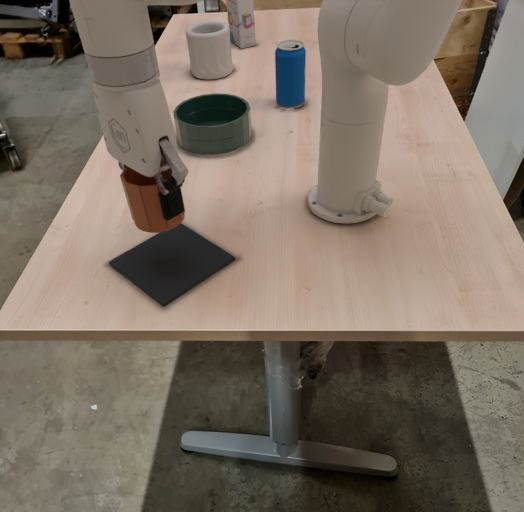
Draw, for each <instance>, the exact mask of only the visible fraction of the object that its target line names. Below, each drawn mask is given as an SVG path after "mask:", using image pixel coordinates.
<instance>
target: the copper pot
mask: <svg viewBox="0 0 524 512" xmlns="http://www.w3.org/2000/svg"><path fill="white" fill-rule="evenodd" d="M165 164H166V163H165V161H164V160H162V161H161V162H160V167H161V166H163V165H165ZM161 175H162V177H163V179H164V181H165V182H166V181H167V180H168V178H170V177H171V176H170V174H169V172H168V170H166V171H164V172H162V173H161ZM119 178H120V181H121V185H122V188H123V193H124V195H125V198H126V202H127V205H128V209H129V213H130V216H131V219H132V221H133V223H134V225H135V227H136V228H137V229H138V230H140V231H142V232H145V233H151V234H158V233H160V232H165V231H168V230H171V229H173V228H175V227H177V226H178V225H179V224H181V223H182V224H183V222H184V219H185V216H186V214H185V213H186V208H185V207H184V209H185V210H184V212H183V213H181V214H179V215H177V216H176V217H174V218H172V219H170V220H168V221H167V220H165V219H164V218H163V213H162V209H161V205H160V200H159V196H158V193H160V192H161V191H160V189H159V187H158V185H157V183H156V181H155V179H154V177H147V176H144V175H142V174H140V173H138V172H137V171H135V170H133V169H131V168H130V167H128V166H126V167H125V168H124V170H122V171H121V173H120V175H119ZM180 188H181V189H182V187H180ZM181 193H182V191H181ZM182 194H183V193H182ZM182 198H183V196H182ZM183 199H184V198H183ZM183 203H184V201H183ZM184 204H185V203H184Z"/></svg>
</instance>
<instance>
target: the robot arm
mask: <svg viewBox="0 0 524 512" xmlns="http://www.w3.org/2000/svg"><path fill="white" fill-rule="evenodd" d="M68 1H69V5H70V7H71V11H72V15H73V18H74V21H75V25H76V28H77V32H78V35H79V38H80V41H81V45H82V49H83V52H84V56H85V60H86V63H87V67H88V70H89V73H90V77H91V82H92V89H93V97H94V102H95V107H96V111H97V115H98V119H99V124H100V128H101V132H102V136H103V139H104V144H105V146H106V150H107V152H108V154H109V155H110V156H111V157H112V158H113V159H115V160H116V161H117V164H118V167H119V169H120V170H121V171H123V170H124V168H125V167H126V166H128V167H130V168H131V169H133V170H135V171H137V172H138V173H140V174H142V175H144V176H147V177H154V179H155V181H156V183H157V185H158V187H159V189H160V191H161V192H160V193H158V196H159V200H160V205H161V209H162V213H163V218H164V219H165V220H167V221H168V220H170V219H172V218H174V217H176V216H177V215H179V214H181V213H183V212H184V210H185V211H186V208H185V203H183V202H184V198H182V197H183V193H181V192H182V187H183V184H184V183H185V179H186V177H187V176H188V174H189V169H188V167H187V166H186V165H185V164H186V163H184V161H183V160H182V158H180V156H179V150H178V142H177V138H176V131H175V128H174V125H173V124H174V123H173V120H172V116H171V111H170V108H169V104H168V101H167V97H166V95H165V92H164V88H163V86H162V82H161V80H160V77H161V73H160V68H159V62H158V58H157V52H156V46H155V42H154V35H153V31H152V30H153V29H152V25H151V19H150V14H149V9H148V6H190V5H194V4H197V3H200V2H202V1H203V0H68ZM462 2H463V0H322V2H321V5H320V8H319V11H318V12H319V13H318V17H317V40H318V41H317V42H318V51H319V59H320V69H321V100H320V101H321V104H320V120H319V122H320V123H319V142H318V143H319V144H318V166H317V167H318V168H317V184H315V185H314V186H313V187H312V188H311V189H310V191H309V192H308V195H307V204H308V205H307V206H308V208H309V210H310V211H311V212H312V213H313V214H314V215H315V216H317V217H319V218H320V219H322V220H325V221H327V222H330V223H336V224H356V223H362V222H364V221H368V220H369V219H372V218H373V217H375V216H380V217H382V218H387V217H388V216H390V213H391V211H392V207H391V205H392V204H393V202H394V201H393V200H394V199H393V197H390V196H388V195H384V194H382V192H381V188H382V181H380V180H377V175H378V168H379V164H380V163H379V162H380V154H381V147H382V141H383V135H384V127H385V121H386V120H385V119H386V113H387V109H388V103H389V102H388V101H389V85H390V86H396V87H397V86H398V87H399V86H400V87H401V86H406V85H409V84H411V83H412V82H414V81H416V80H417V79H418V78H420V76H421V75H422V74H423V73H425V71H426V70H427V69H428V68H429V67H430V65H431V64H432V62H433V60H434V59H435V57H436V55H437V54H438V52H439V50H440V49H441V47H442V44H443V42H444V41H445V38H446V36H447V35H448V32H449V30H450V28H451V26H452V23H453V21H454V19H455V17H456V15H457V13H458V11H459V8H460V6H461V4H462ZM162 160H164V161H165V163H166V164H165V165H163V166H161V167H160V162H161V161H162ZM166 170H168V172H169V174H170V176H171V177H170V178H168V180H167V181H166V182H165V181H164V179H163V177H162V175H161V173H162V172H164V171H166ZM180 187H181V188H180ZM184 208H185V209H184Z"/></svg>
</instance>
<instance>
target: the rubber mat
mask: <svg viewBox="0 0 524 512" xmlns="http://www.w3.org/2000/svg"><path fill="white" fill-rule="evenodd" d="M234 261H236V257H235V255H233V254H231V253H230V252H228V251H227V250H225V249H223V248H222V247H219V245H217V244H216V243H214V242H212V241H210V240H209V239H207V238H206V237H204V236H203V235H201V234H199V233H198V232H196V231H194V230H193V229H192V228H190V227H188V226H186V225H185V224H183V222H182V223H181V224H179V225H178V226H177V227H175V228H173V229H171V230H168V231H165V232H160V233H155V234H154V235H153V236H151V237H149V238H147V239H146V240H144V241H142V242H140V243H138V244H137V245H136V246H134V247H132V248H130V249H128V250H126V251H125V252H123V253H121V254H119V255H118V256H116V257H114V258H113V259H111V260H109V261H108V264H109V266H111V267H112V268H114V269H115V270H116V271H117V272H119V274H121V275H122V276H123V277H125V278H126V279H127V280H128V281H130V282H131V283H132V284H134V285H135V286H136V287H137V288H139V289H140V290H141V291H142V292H144V293H145V294H146V295H147V296H149V297H150V298H151V299H153V300H154V301H156V302H157V303H158V304H159V305H161V306H162V307H163V308H164V307H167V305H169V304H170V303H172V302H174V301H176V299H178V298H179V297H181V296H183V295H184V294H186V293H187V292H189V291H190V290H192V289H194V288H195V287H196V286H198V285H199V284H200V283H203V282H204V281H205V280H207V279H209V278H210V277H211V276H213V275H215V274H216V273H217V272H220V270H222V269H223V268H226V267H227V266H228V265H230V264H231V263H233V262H234Z"/></svg>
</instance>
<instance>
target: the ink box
mask: <svg viewBox="0 0 524 512" xmlns="http://www.w3.org/2000/svg"><path fill="white" fill-rule="evenodd" d="M225 4H226V13H227V21H228V23H227V24H228V26H229V28H230V42H232V43H234V45H236V46H237V47H239V49H241V50H242V49H246V48H250V47H254V46H257V38H256V37H257V36H256V24H255V23H256V21H255V7H254V0H225Z"/></svg>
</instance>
